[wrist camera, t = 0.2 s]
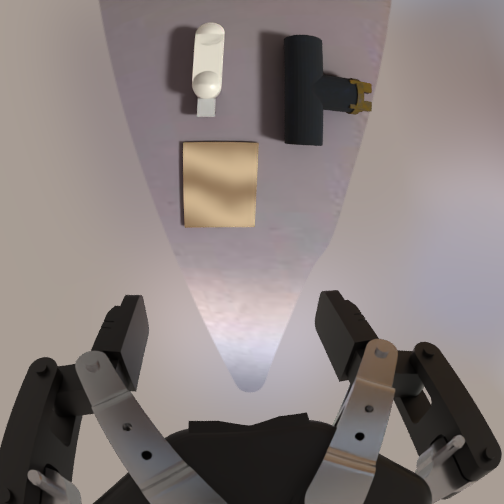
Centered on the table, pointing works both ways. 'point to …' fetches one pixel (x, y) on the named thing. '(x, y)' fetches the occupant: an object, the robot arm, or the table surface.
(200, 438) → the robot arm
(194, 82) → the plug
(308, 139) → the pipe connector
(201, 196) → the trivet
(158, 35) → the table surface
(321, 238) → the table surface
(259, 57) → the table surface
